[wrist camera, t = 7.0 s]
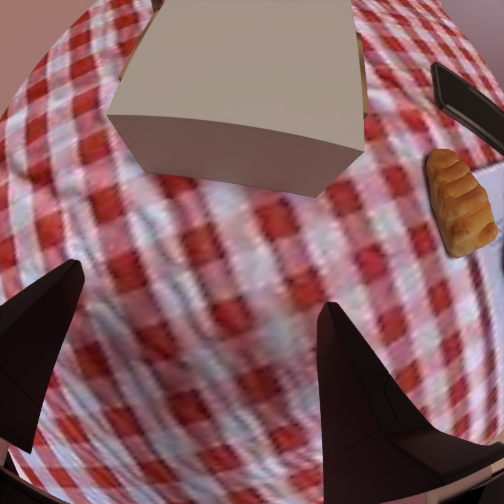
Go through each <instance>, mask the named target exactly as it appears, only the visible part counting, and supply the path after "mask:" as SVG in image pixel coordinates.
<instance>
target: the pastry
mask: <svg viewBox="0 0 504 504" xmlns="http://www.w3.org/2000/svg"><path fill="white" fill-rule="evenodd" d="M426 174H427V177H428V180H429V189H430V203H431V207H432V208H433V209H434V212H435V217H436V219H437V223H438V226H439V230H440V233H441V236H442V239H443V242H444V244H445V246H446V249H447V251H448V252H449V253H450V255H451V256H452V257H454V258H460V257H463V256H466V255H468V254H470V253H472V252H473V251H475V250H477V249H479V248H482V247H484V246H485V245H487V244H489V243H490V242H492V241H494V240H495V238H496V236H497V234H498V227H497V226H496V224H495V223H494V217H493V214H492V211H491V205H490V203H489V200H488V195H487V193H486V190H485V189H484V188H483V187H482V186H481V185H480V184H479V183H478V181H477V180H476V179H475V177H474V176H473V175H472V173H471V171H470V168H469V167H468V166H467V165H466V164H465V163H464V162H463V160H462V159H461V158H460V157H459V156H458V155H457V154H456V153H455V152H453V151H451V150H449V149H434V150H432V152H431V154H430V156H429V158H428V160H427V163H426Z"/></svg>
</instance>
